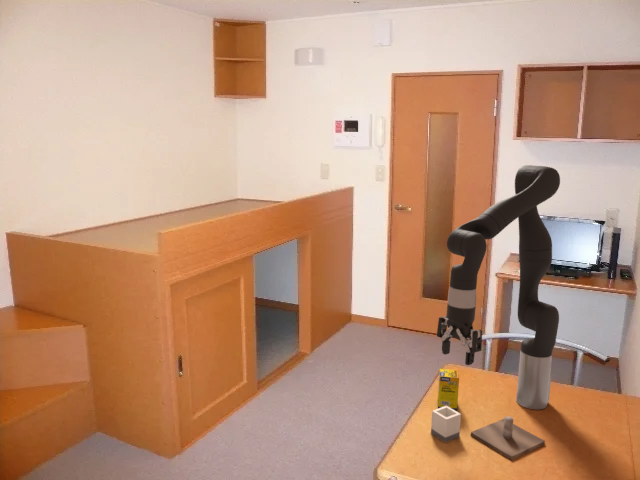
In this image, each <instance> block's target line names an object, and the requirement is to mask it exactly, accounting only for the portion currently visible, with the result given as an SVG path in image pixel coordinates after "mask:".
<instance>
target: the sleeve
mask: <svg viewBox="0 0 640 480" xmlns="http://www.w3.org/2000/svg"><path fill="white" fill-rule="evenodd" d="M461 419H462V414H461V413H460V412H458V410H457V411H455V410H453V409H451V408H450V407H448V406H444V407H441V408H438V407H437V408H436V409H434V410H431V423H430V424H431V427H430V434H431V435H433V436H435V438H438V439H439V440H441V441H442V442H444V443H448V442H450V441H452V440H455V439H457V438H460V434H461V433H460V432H461Z"/></svg>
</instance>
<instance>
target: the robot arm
mask: <svg viewBox="0 0 640 480" xmlns="http://www.w3.org/2000/svg"><path fill="white" fill-rule="evenodd" d="M560 184H561V176H560V173H559V172H558V170H557V169H555V168H553V167H552V166H551V167H550V166H545V165H544V166H543V165H532V164H531V165H528V164H527V165H523V166H521V167H520V168H518V170H517V172H516V173H515V178H514V191H515V192H514V193H515V194H514V195H512V196H510V197H507V198H504V199H501V200H500V201H497V202H496V203H494V204H492V205H491V206H489V207H488V208H487V209H486V210H484V211H483V212H482V213H481V214H480V215H478V216H477V217H476V218H474V219H471V220H469V221H468V222H465V223H463V224H461V225H459V226H458V227H456V228H455V229H453V230H452V231H451V232H450V234H449V235H448V237H447V240H446V247H447V249H448V251H449V252H450V253H452V254H453V255H456V256H460V257H464V259H463V261H462V263H458V264H454V265H453V266H452V267H451V270H450V279H449V288H448V293H447V304H446V305H447V306H446V315H444V316H440V317H438V321H437V322H438V323H437V331H436V336H437V338H440V339H441V353H442V354H443V355H449V354H450V352H451V339H452V338H453V339H457V340H458V341H460V342H461V344H462V345H463V346H464V348H465V350H466V352H465V360H464V364H465V365H466V366H470V365H471V366H472V365H473V364H474V361H475V353H479V352H481V351H482V345H483V330H482V329H475V328H474V324H473V323H474V322H475V318H476V308H477V283H478V274H479V272H480V269H481V267H482V263H483V261H484V257H485V256H486V252H487V241H486V240H492V239H493V238H496V236H498V235H499V234H500V233H501V232H502V231H503V230H504V229H505V228H506V227H508V226H509V225H511V223H513V222H514V221H516V219H518V235H519V236H518V237H519V238H518V258H519V292H518V302H517V320H518V322H519V324H520V325H521V326H522V327H524V328H525V329H528V330H531V331H533V332H535V334H534V337H531V338H530V337H529V338H525V339H523V340H522V341H521V344H520V353H519V362H518V363H519V364H518V375H517V377H518V378H517V386H516V387H517V388H516V399H515V401H516V403H517V404H518V405H520V406H521V407H523V408H525V409H526V408H527V409H530V410H544V409H546V408H547V406H548V404H549V402H550V393H551V384H552V374H551V369H552V360H553V359H552V358H553V352H554V351H553V350H554V348H555V346H556V343H557V335H558V330H559V323H560V314H559V310H558V309H557V307H556V306H555V305H552V304H549V303H547V302H543V301H539V286H540V283H541V281H542V280H543V278H544V276H545V275H546V273H547V272H548V271H549V269H550V267H551V265H552V262H553V241H552V237H551V235H550V232H549V230H548V229H547V227H546V226H545V223H544V221H543V220H542V218H541V216H540V214H539V210H538V206H540V205H541V204H542V203H545V202H546V201H547V200H549V199H550V198H552V197H553V196H554V195H556V193H557V191H558V190H559V188H560ZM467 339H468V340H467Z"/></svg>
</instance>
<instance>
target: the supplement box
mask: <svg viewBox="0 0 640 480" xmlns="http://www.w3.org/2000/svg"><path fill="white" fill-rule="evenodd" d="M459 373H460V371H459V370H458V369H448V368H439V371H438V389H437V409H438V408H441V407H444V406H448V407H450V408H451V409H453V410H455V411H457V412H458V402H459V401H458V398H459V384H460V374H459Z"/></svg>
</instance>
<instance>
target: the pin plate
mask: <svg viewBox="0 0 640 480" xmlns="http://www.w3.org/2000/svg"><path fill="white" fill-rule="evenodd" d="M470 437H473V438H474V439H475V440H477V441H479V442H481V443H482V444H484V445H486V446H487V447H489V448H491V449H492V450H494V451H496V452H497V453H498V454H501V455H502V456H504V458H507V459H508V460H511V461H513V460H514V459H517V458H519V457H521V456H523V455H525V454H527V453H529V452H531V451H534V450H535V449H536V450H537V449H538V448H540V447H542V446H544V445H545V444H546V440H544V439H542V438H540V437H538V436H537V435H535V434H533V433H531V432H530V431H527V430H526V429H523V428H522V427H520V426H518V425H517V424H515V423H514V418H513V417H512V416H509V415H508V416H507V415H506V416H504V418H503V419H499V420H497V421H495V422H493V423H489V424H487V425H484V426H483V427H480V428H478V429H475V430H473V431H470Z"/></svg>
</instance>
